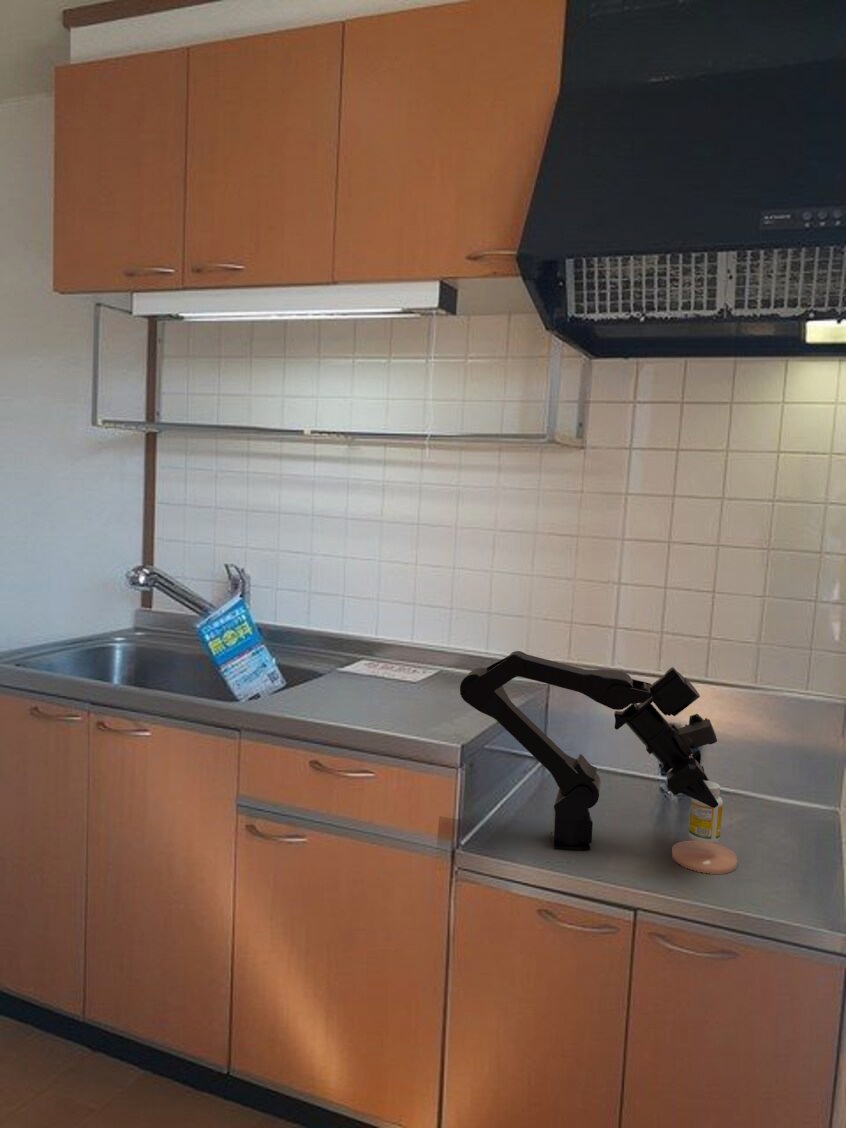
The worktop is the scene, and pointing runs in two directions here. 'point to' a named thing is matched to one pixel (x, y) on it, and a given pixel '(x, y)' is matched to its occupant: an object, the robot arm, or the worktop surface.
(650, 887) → the worktop surface
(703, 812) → the supplement bottle
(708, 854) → the saucer
